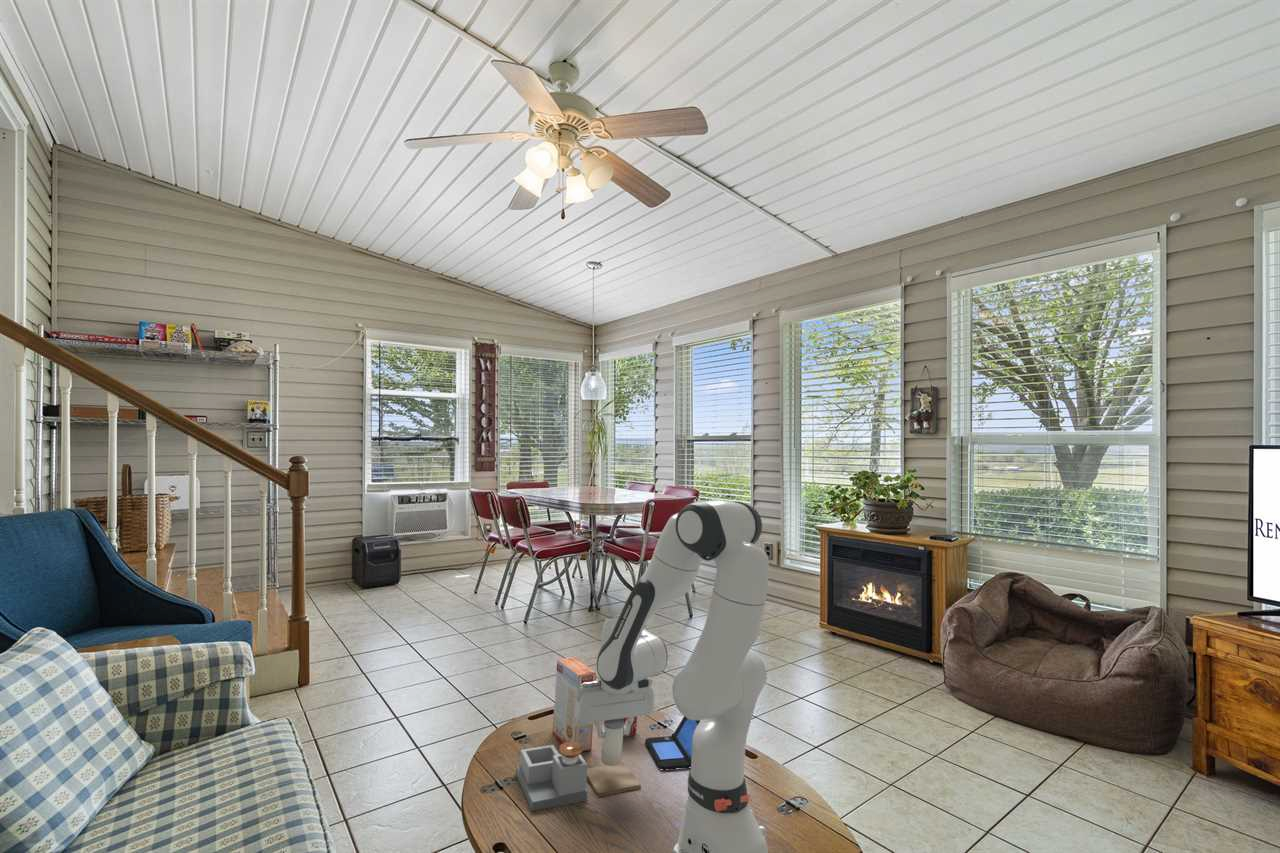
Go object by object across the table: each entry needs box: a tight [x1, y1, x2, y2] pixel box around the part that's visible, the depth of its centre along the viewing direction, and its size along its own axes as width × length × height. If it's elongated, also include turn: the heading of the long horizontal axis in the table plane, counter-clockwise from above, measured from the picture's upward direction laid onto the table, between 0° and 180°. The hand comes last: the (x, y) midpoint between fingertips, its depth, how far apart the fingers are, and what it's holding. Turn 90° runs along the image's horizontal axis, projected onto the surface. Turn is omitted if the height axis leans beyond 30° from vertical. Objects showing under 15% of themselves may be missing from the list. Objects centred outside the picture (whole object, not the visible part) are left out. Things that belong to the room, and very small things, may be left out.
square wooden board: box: [586, 761, 642, 797], centre depth 147 cm, size 11×11×1 cm
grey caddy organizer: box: [515, 744, 589, 812], centre depth 142 cm, size 16×13×8 cm
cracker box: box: [552, 656, 597, 753], centre depth 166 cm, size 14×6×21 cm, turn 32°
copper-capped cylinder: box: [558, 742, 583, 767], centre depth 140 cm, size 5×5×7 cm
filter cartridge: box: [600, 718, 624, 766], centre depth 147 cm, size 5×5×10 cm
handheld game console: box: [644, 715, 700, 771], centre depth 161 cm, size 16×13×9 cm
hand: (613, 735), depth 147 cm, fingers closed on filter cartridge, 5 cm apart
